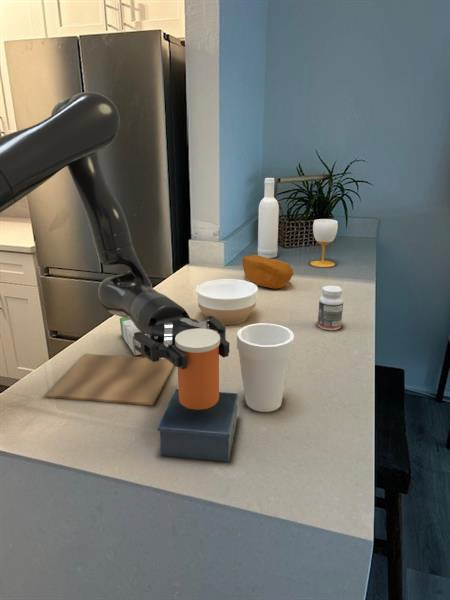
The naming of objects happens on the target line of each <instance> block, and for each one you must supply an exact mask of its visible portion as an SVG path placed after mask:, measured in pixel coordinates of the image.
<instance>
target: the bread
mask: <svg viewBox="0 0 450 600" xmlns="http://www.w3.org/2000/svg"><path fill="white" fill-rule="evenodd" d="M241 259H242V261H241V262H242V269H243V273H244V275H245V278H246V279H247V281H248V282H251V283H253V284H255V285H256V286H259V287H263V288H269V289H273V290H274V289H282V288H284V287H285V286H286V285H287V284H288V283H289V282H290V281H291V280H292V277H293V275H294V269H293V268H292V266H291V265H289V264H288V263H287V262H285V261H282V260H279V259H274V258H266V257H262V256H259V255H258V254H251V255H246V256H243V257H242V258H241Z"/></svg>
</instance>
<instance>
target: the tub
mask: <svg viewBox="0 0 450 600" xmlns="http://www.w3.org/2000/svg"><path fill="white" fill-rule="evenodd" d="M175 345H176V347H177V348H179V349H180V350H182V351H183V352H184V353H185V354H186V356H187V368H185V369H181V368H180V367H177V384H178V386H177V387H178V389H179V401H180V403H181V404H182V405H183V406H185V407H187V408H190V409H196V410H200V409H207V408H210V407H212V406H214V405H215V404H216V403H217V402H218V400H219V392H220V355H219V345H220V335H219V334H218V333H217V332H215V331H212V330H209V329H200V328H197V329H189V330H185V331H182V332H180V333H179V334H177V335H176V337H175Z"/></svg>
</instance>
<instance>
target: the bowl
mask: <svg viewBox="0 0 450 600" xmlns="http://www.w3.org/2000/svg"><path fill="white" fill-rule="evenodd" d="M258 292H259V287H258V285H255V284H253V283H251V282H249V281H248V280H244V279H239V278H216V279H210V280H205V281H203V282H201V283H199V284H198V285H197V286H196V287H195V293H196V294H197V299H196V300H197V306H198V308H199V310H200V311H201V313H202V314H203V315H204V316H205V317H206V318H207V316H214V317H215V318H216V319H217V320H218V321H219V322H220V323H221V324H222V325H224V326H225V325H227V326H229V325H237V324H241V323H243V322H245V321H246V320H247V319H248V317H249V316H250V315H251V314H252V312H253V311H254V309H255V308H256V305H257V294H258Z"/></svg>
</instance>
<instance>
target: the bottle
mask: <svg viewBox="0 0 450 600" xmlns="http://www.w3.org/2000/svg"><path fill="white" fill-rule="evenodd" d="M263 183H264V195H263V196H264V197H263V198H262V199H261V200H260V202H259V205H258V219H257V220H258V221H257V222H258V225H257V255H259V256H262V257H266V258H271V259H274V258H276V257H278V243H279V242H278V239H279V217H280V216H279V214H280V206H279V202H278V200H277V199H276V197H275V178H274V177H265V178H264V182H263Z"/></svg>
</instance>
